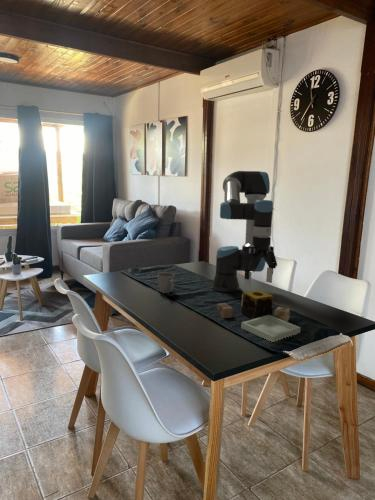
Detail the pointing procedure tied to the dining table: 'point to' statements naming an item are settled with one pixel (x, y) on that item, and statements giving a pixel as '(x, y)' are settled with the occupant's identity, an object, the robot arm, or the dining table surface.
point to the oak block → (282, 313)
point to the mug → (166, 282)
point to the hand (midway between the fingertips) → (258, 284)
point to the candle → (257, 304)
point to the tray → (270, 328)
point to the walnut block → (224, 310)
